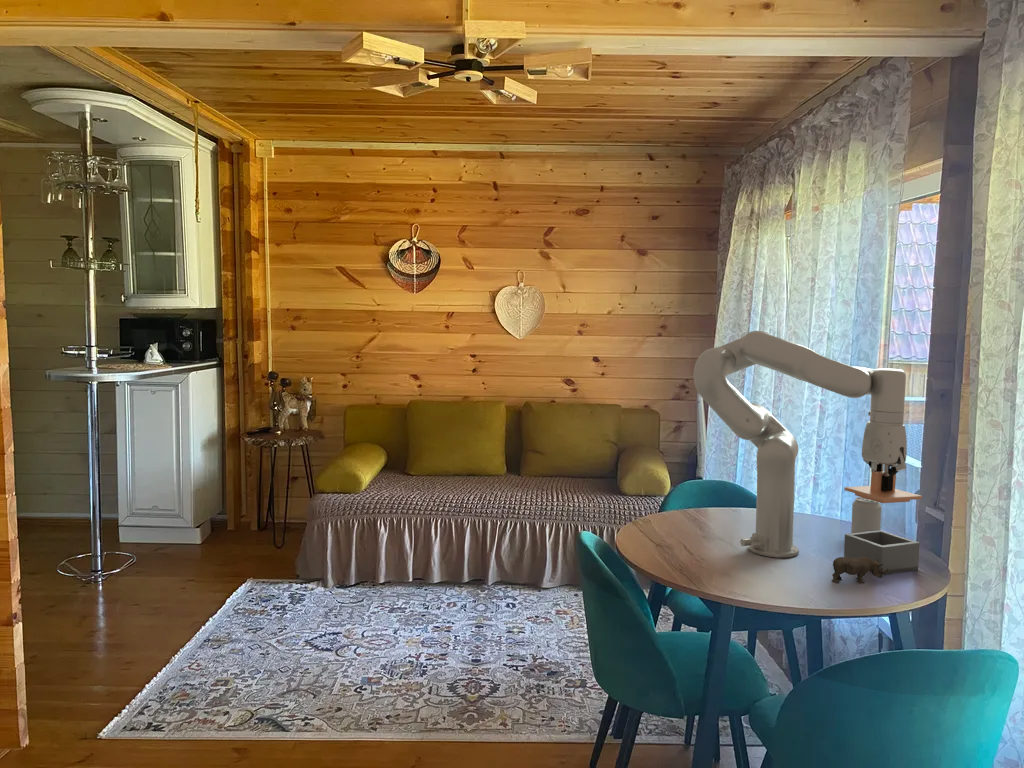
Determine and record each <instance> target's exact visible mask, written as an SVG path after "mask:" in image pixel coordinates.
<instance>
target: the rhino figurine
mask: <svg viewBox="0 0 1024 768" xmlns="http://www.w3.org/2000/svg"><path fill="white" fill-rule="evenodd" d="M877 562H878V559H876V560H875V561H873V560H871V559H870V558H867V557H861V558H856V559H853V558H849V557H844V556H840V557H837V558H835V559H834V560H833V561H832V566H833V571H834V573H832V575H831V576H832V579H831V582H832V583H835V584H840V580H843V579H842V576H841V575H843V574H844V573H845V574H847V575H849V576H856V581H857V583H858V584H861V585H863V584H865V581H864V579H863V578H864V577H865V576H866V575H867V574H868V573H871V575H872V576H874V577H876V578H878V579H882V578H883V576H885V575H884V574H885V573H886V572H887V571H888V568H887V569H886V570H884V571H882V570H883V568H879V566H882V565H883V563H882V564H878V563H877Z"/></svg>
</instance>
